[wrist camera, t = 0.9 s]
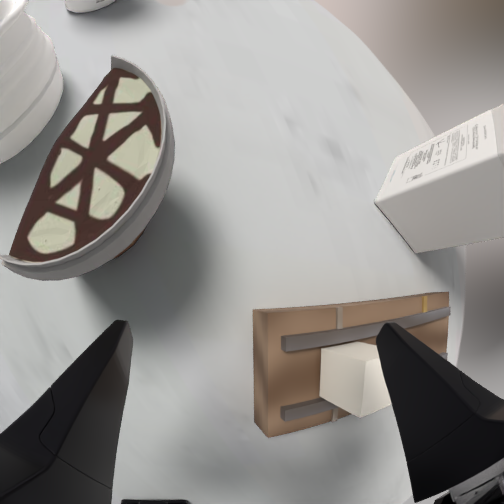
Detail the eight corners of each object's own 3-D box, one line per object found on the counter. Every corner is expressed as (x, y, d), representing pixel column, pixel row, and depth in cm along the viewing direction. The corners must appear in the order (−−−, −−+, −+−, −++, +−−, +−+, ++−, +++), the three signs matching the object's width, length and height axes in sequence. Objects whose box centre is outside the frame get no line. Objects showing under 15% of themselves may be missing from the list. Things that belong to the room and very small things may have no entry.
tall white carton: (414, 254, 29) (603, 217, 5) (372, 202, 27) (585, 120, 4) (430, 205, 31) (582, 156, 8) (394, 157, 30) (554, 78, 6)
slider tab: (354, 386, 20) (396, 402, 15) (319, 396, 19) (360, 418, 14) (357, 341, 20) (402, 350, 16) (321, 348, 19) (365, 361, 14)
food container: (134, 308, 18) (111, 328, 9) (62, 278, 17) (-8, 268, 7) (191, 160, 21) (219, 80, 12) (125, 136, 19) (117, 49, 10)
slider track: (426, 367, 28) (448, 371, 24) (254, 422, 20) (271, 442, 16) (430, 292, 29) (453, 291, 26) (252, 309, 21) (272, 313, 18)
